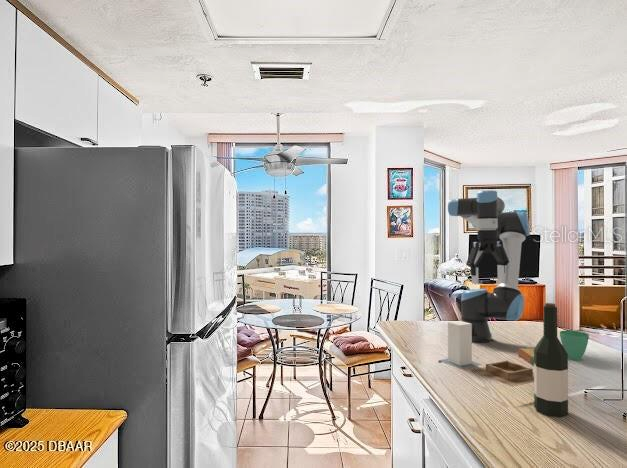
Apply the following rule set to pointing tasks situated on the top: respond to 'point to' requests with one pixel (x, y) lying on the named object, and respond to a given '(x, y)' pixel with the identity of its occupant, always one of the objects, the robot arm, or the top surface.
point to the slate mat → (458, 365)
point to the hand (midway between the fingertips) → (488, 282)
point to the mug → (574, 343)
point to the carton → (527, 355)
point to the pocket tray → (507, 373)
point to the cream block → (460, 342)
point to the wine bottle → (550, 369)
